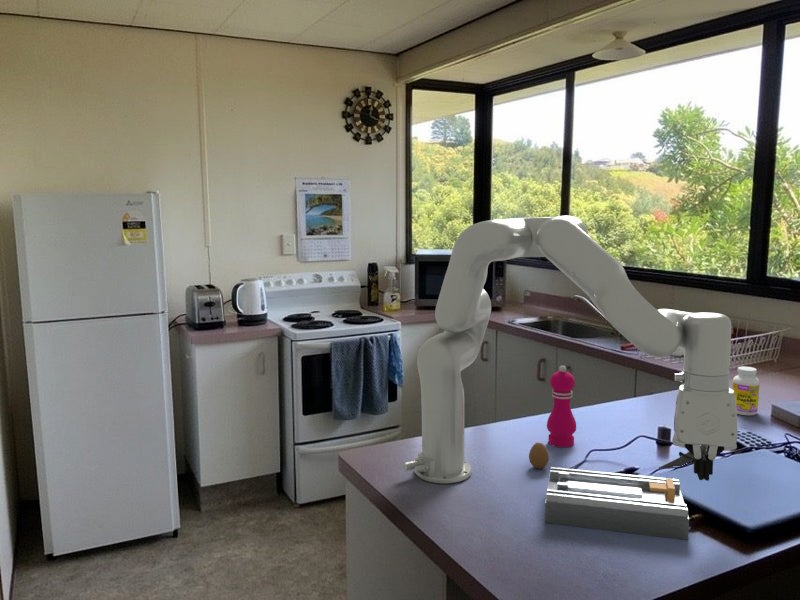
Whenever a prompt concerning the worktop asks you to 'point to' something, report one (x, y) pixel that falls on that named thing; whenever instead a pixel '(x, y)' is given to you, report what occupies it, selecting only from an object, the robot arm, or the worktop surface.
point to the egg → (538, 456)
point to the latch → (665, 489)
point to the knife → (684, 458)
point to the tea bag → (679, 352)
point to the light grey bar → (603, 489)
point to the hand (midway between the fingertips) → (702, 477)
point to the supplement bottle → (746, 391)
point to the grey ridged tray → (615, 505)
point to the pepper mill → (561, 409)
